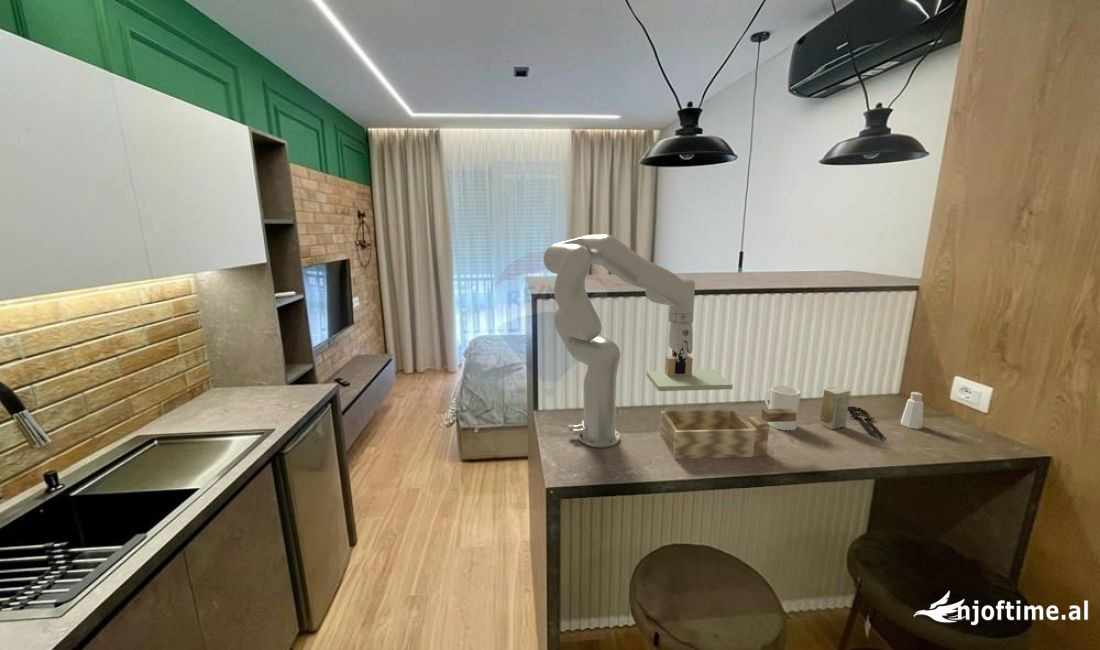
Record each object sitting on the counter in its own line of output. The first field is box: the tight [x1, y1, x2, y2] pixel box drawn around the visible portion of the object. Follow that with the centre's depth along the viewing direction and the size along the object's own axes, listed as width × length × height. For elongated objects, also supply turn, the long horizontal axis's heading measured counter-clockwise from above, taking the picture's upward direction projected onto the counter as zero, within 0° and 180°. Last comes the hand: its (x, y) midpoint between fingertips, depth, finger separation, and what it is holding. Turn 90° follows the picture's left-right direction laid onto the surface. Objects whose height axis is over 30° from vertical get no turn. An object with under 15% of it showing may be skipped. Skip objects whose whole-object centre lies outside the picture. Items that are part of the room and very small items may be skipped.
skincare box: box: [819, 386, 851, 430], centre depth 133 cm, size 6×4×12 cm
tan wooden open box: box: [659, 409, 770, 460], centre depth 121 cm, size 26×14×10 cm, turn 92°
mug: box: [764, 385, 801, 432], centre depth 136 cm, size 12×8×12 cm
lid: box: [645, 355, 733, 392], centre depth 135 cm, size 23×15×8 cm, turn 92°
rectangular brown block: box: [761, 408, 797, 422], centre depth 117 cm, size 8×3×2 cm, turn 92°
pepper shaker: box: [900, 391, 924, 430], centre depth 133 cm, size 5×5×11 cm
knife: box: [848, 405, 886, 441], centre depth 136 cm, size 25×6×1 cm, turn 155°
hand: (678, 371), depth 139 cm, fingers closed on lid, 3 cm apart
